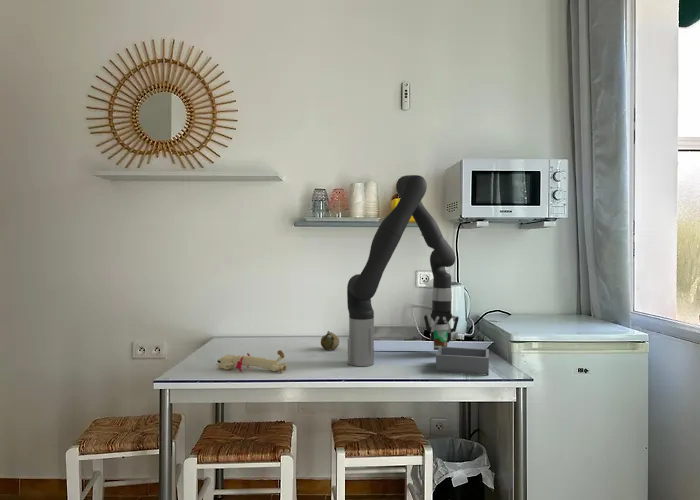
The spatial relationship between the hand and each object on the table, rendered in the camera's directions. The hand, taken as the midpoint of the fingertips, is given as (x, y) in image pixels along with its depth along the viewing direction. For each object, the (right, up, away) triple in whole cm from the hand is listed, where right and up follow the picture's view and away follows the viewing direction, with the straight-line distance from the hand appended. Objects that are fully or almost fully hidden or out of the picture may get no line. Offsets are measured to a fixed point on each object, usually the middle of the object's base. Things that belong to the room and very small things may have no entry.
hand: (440, 341), depth 216 cm
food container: (+1, -3, 0) cm, 3 cm away
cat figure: (-72, -7, -22) cm, 75 cm away
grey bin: (+4, -6, -20) cm, 22 cm away
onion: (-44, -5, +11) cm, 46 cm away
